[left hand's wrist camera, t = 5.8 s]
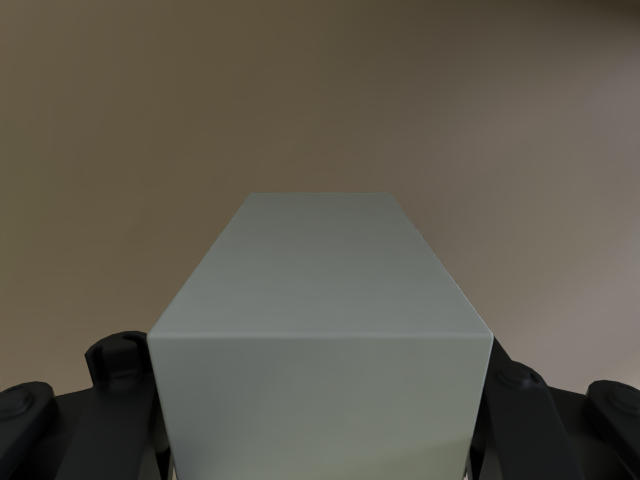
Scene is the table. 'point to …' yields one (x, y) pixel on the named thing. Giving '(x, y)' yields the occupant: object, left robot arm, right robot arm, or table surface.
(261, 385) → the bar
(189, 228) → the table surface
